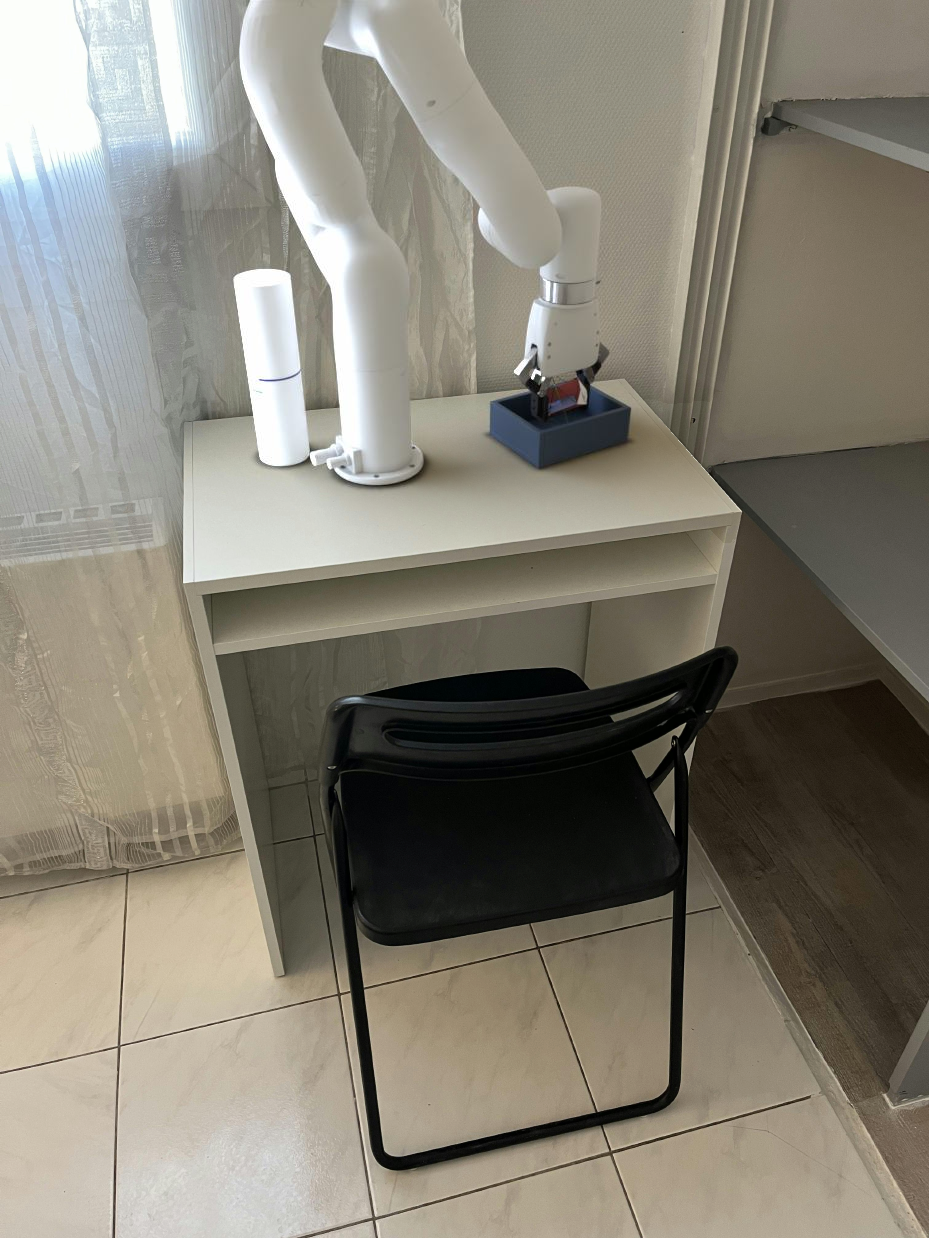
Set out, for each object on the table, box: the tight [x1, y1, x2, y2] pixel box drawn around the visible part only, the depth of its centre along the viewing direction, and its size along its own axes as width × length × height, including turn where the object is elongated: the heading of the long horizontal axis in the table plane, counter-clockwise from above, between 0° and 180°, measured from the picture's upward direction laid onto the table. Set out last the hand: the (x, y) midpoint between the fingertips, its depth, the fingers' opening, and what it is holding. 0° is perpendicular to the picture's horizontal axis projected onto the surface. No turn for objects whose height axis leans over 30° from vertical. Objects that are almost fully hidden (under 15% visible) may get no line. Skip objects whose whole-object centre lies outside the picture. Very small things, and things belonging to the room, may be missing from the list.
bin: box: [489, 379, 632, 469], centre depth 137 cm, size 16×13×5 cm
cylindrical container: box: [233, 268, 311, 467], centre depth 127 cm, size 7×7×25 cm
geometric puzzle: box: [546, 375, 587, 424], centre depth 135 cm, size 7×7×8 cm
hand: (559, 412), depth 136 cm, fingers closed on geometric puzzle, 6 cm apart
